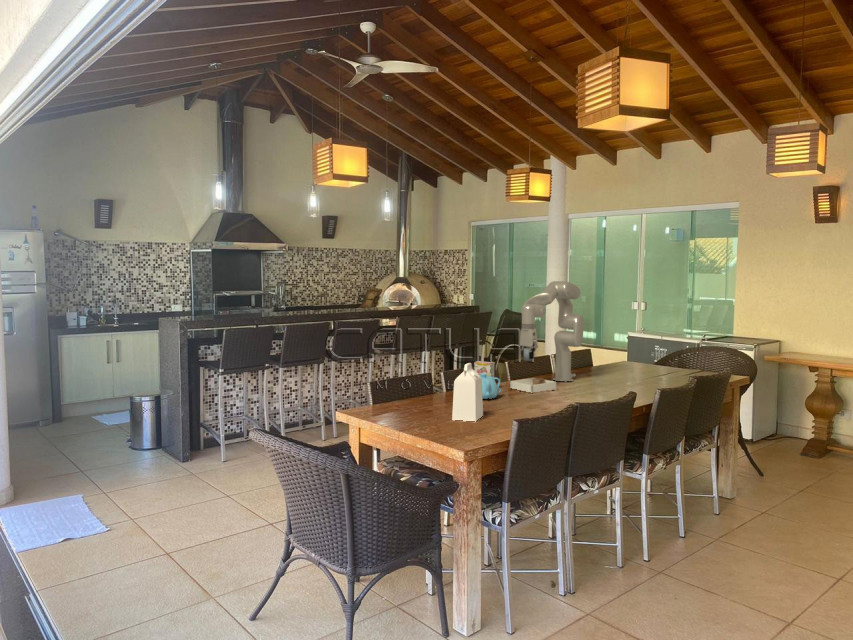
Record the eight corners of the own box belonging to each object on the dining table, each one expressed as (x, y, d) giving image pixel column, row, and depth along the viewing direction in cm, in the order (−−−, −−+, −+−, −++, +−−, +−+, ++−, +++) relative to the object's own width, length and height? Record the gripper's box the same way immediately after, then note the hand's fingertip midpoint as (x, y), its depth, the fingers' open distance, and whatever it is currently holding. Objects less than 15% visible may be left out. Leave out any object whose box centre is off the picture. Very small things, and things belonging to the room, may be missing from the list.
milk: (460, 414, 313) (460, 361, 311) (483, 416, 309) (483, 362, 307) (452, 420, 302) (452, 365, 300) (475, 422, 298) (475, 366, 296)
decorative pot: (486, 402, 341) (486, 377, 340) (462, 398, 352) (462, 373, 351) (503, 398, 354) (504, 373, 352) (480, 394, 364) (480, 370, 363)
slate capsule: (527, 359, 376) (528, 347, 375) (534, 360, 372) (534, 348, 371) (521, 360, 373) (521, 348, 372) (527, 361, 369) (527, 349, 368)
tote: (534, 385, 389) (534, 377, 389) (556, 390, 375) (556, 381, 374) (509, 389, 378) (510, 381, 377) (531, 394, 363) (532, 385, 363)
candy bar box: (473, 389, 377) (473, 361, 376) (477, 388, 382) (477, 360, 380) (490, 391, 372) (491, 363, 370) (494, 390, 376) (494, 362, 374)
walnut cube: (538, 386, 382) (538, 378, 382) (544, 387, 378) (544, 379, 378) (532, 387, 379) (532, 378, 379) (538, 388, 375) (538, 380, 375)
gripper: (543, 327, 366) (543, 359, 367) (522, 325, 380) (522, 356, 381) (534, 328, 362) (533, 360, 363) (513, 326, 375) (513, 357, 377)
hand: (528, 357), depth 372 cm, fingers closed on slate capsule, 4 cm apart
